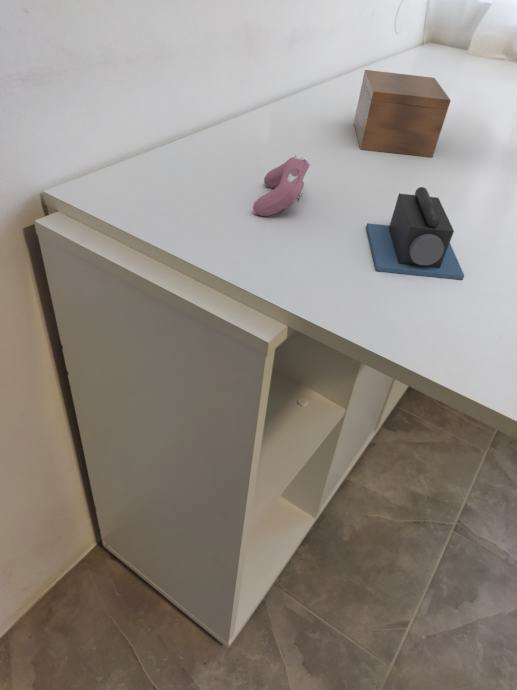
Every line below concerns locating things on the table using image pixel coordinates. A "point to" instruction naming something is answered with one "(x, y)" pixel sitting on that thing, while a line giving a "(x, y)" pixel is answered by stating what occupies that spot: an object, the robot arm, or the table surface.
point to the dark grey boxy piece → (420, 229)
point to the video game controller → (282, 187)
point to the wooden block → (400, 113)
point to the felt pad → (389, 263)
